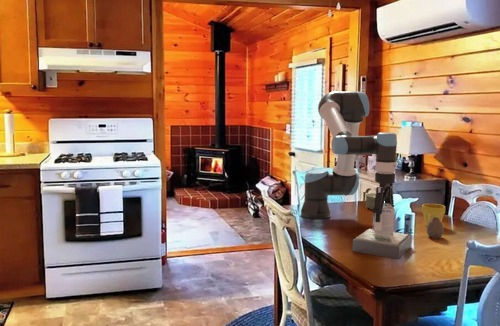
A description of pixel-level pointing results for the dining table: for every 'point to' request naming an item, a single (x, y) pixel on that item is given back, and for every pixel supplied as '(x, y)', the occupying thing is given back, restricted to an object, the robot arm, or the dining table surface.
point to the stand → (382, 244)
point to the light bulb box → (386, 221)
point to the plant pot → (432, 212)
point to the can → (370, 200)
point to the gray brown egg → (435, 228)
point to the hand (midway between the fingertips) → (382, 226)
